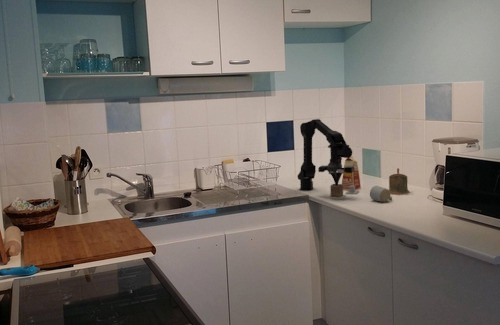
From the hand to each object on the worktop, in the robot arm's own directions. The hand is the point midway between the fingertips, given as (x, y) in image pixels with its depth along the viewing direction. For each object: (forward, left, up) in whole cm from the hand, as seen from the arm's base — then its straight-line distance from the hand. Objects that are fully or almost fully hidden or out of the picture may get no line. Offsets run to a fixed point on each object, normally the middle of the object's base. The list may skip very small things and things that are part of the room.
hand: (336, 184), depth 279 cm
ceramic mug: (+25, -3, -7) cm, 26 cm away
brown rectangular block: (0, 0, -6) cm, 6 cm away
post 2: (+5, +11, -7) cm, 14 cm away
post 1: (0, 0, -7) cm, 7 cm away
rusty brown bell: (+28, +22, -7) cm, 36 cm away
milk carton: (+1, +22, -7) cm, 23 cm away
